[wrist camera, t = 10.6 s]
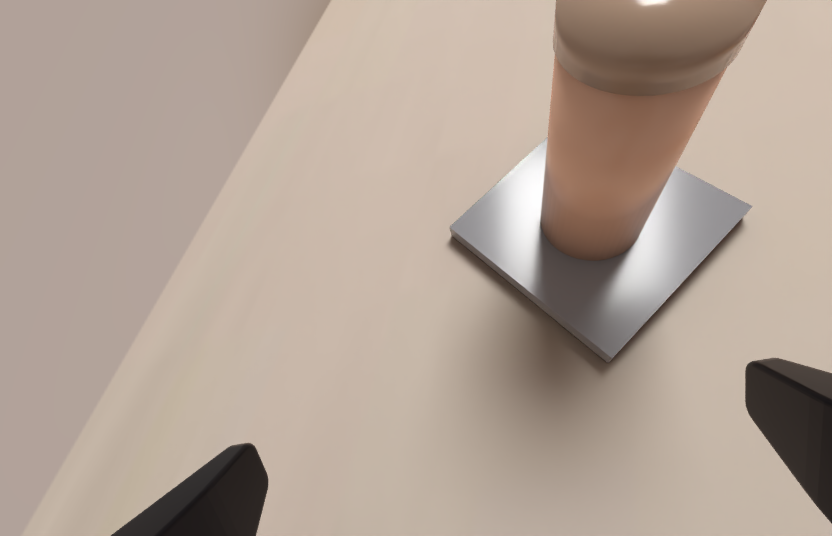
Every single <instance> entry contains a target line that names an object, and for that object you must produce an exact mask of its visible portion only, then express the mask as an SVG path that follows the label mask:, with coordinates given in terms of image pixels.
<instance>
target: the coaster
mask: <svg viewBox="0 0 832 536" xmlns="http://www.w3.org/2000/svg"><path fill="white" fill-rule="evenodd" d="M547 138H548V137H547ZM547 138H546V139H545V140H544V141H543V142H542V143H540V144H539V145H538V146H537V147H536V148H535V149H534V150H533V151H532V152H531V153H530V154H528V155H527V156H526V157H525V158H524V159H523V160H522V161H521V162H520V163H519V164H518V165H516V166H515V167H514V168H513V169H512V170H511V171H510V172H509V173H508V174H507V175H506V176H505V177H503V178H502V179H501V180H500V181H499V182H498V183H497V184H496V185H495V186H494V187H493V188H491V189H490V190H489V191H488V192H487V193H486V194H485V195H484V196H483V197H482V198H481V199H479V200H478V201H477V202H476V203H475V204H474V205H473V206H472V207H471V208H470V209H469V210H467V211H466V212H465V213H464V214H463V215H462V216H461V217H460V218H459V219H458V220H457V221H456V222H454V223H453V224H452V225H451V226H450V231H451V235H452V236H453V237H454V238H455V239H457V240H458V241H459V242H460V243H461V244H463V245H464V246H465V247H466V248H468V249H469V250H470V251H471V252H472V253H474V254H475V255H476V256H477V257H479V258H480V259H481V260H482V261H483V262H485V263H486V264H487V265H488V266H490V267H491V268H492V269H493V270H495V271H496V272H497V273H498V274H499V275H501V276H502V277H503V278H504V279H506V280H507V281H508V282H509V283H510V284H512V285H513V286H514V287H515V288H517V289H518V290H519V291H520V292H521V293H523V294H524V295H525V296H526V297H528V298H529V299H530V300H531V301H532V302H534V303H535V304H536V305H537V306H539V307H540V308H541V309H542V310H543V311H545V312H546V313H547V314H548V315H550V316H551V317H552V318H553V319H554V320H556V321H557V322H558V323H559V324H561V325H562V326H563V327H564V328H565V329H567V330H568V331H569V332H570V333H572V334H573V335H574V336H575V337H576V338H578V339H579V340H580V341H581V342H583V343H584V344H585V345H586V346H587V347H589V348H590V349H591V350H592V351H594V352H595V353H596V354H597V355H599V356H600V357H601V358H602V359H603V360H605V361H606V362H607V363H609V362H610V361H611V359H612V358H613V357H614V356H615V355H616V354H617V353H618V352H619V351H620V350H621V349H622V348H623V346H624V345H625V344H626V343H627V342H628V341H629V340H630V339H631V338H632V337H633V336H634V335H635V333H636V332H637V331H638V330H639V329H640V328H641V327H642V326H643V325H644V324H645V323H646V322H647V320H648V319H649V318H650V317H651V316H652V315H653V314H654V313H655V312H656V311H657V310H658V309H659V307H660V306H661V305H662V304H663V303H664V302H665V301H666V300H667V299H668V298H669V297H670V296H671V294H672V293H673V292H674V291H675V290H676V289H677V288H678V287H679V286H680V285H681V284H682V283H683V281H684V280H685V279H686V278H687V277H688V276H689V275H690V274H691V273H692V272H693V271H694V270H695V268H696V267H697V266H698V265H699V264H700V263H701V262H702V261H703V260H704V259H705V258H706V257H707V255H708V254H709V253H710V252H711V251H712V250H713V249H714V248H715V247H716V246H717V245H718V244H719V242H720V241H721V240H722V239H723V238H724V237H725V236H726V235H727V234H728V233H729V232H730V231H731V229H732V228H733V227H734V226H735V225H736V224H737V223H738V222H739V221H740V220H741V219H742V218H743V216H744V215H745V214H746V213H747V212H748V211H749V210H750V209H751V208H752V206H751V205H749V204H747V203H745V202H743V201H741V200H739V199H737V198H736V197H734V196H732V195H730V194H728V193H726V192H724V191H722V190H720V189H718V188H716V187H714V186H713V185H711V184H709V183H707V182H705V181H703V180H701V179H699V178H697V177H695V176H693V175H692V174H690V173H688V172H686V171H684V170H682V169H680V168H678V167H676V166H675V168H674V170H673V172H672V174H671V176H670V178H669V179H668V181H667V183H666V185H665V187H664V189H663V191H662V193H661V195H660V197H659V199H658V201H657V202H656V204H655V206H654V208H653V210H652V212H651V214H650V216H649V218H648V220H647V222H646V224H645V225H644V227H643V229H642V231H641V233H640V235H639V237H638V239H637V240H636V242H635V243H634V244H633V245H632V246H631V247H630V248H629V249H628V250H626V251H625V252H623V253H622V254H620V255H618V256H615V257H613V258H609V259H605V260H597V261H590V260H582V259H577V258H574V257H571V256H568V255H566V254H564V253H562V252H561V251H559V250H558V249H557V248H555V247H554V246H553V245H552V244H551V243H550V242H549V241H548V239H547V238H546V236H545V234H544V232H543V230H542V226H541V218H540V217H541V206H542V195H543V184H544V172H545V161H546V150H547Z"/></svg>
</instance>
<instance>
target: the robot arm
mask: <svg viewBox="0 0 832 536" xmlns="http://www.w3.org/2000/svg"><path fill="white" fill-rule="evenodd" d="M745 402H746V407H747V410H748V413H749V415H750V417H751V418H752V420H753V421H754V422H755V424H756V425H757V426H758V428H759V429H760V431H761V432H762V433H763V435H764V436H765V437H766V439H767V440H768V441H769V443H770V444H771V445H772V447H773V448H774V449H775V451H776V452H777V454H778V455H779V456H780V458H781V459H782V460H783V462H784V463H785V464H786V466H787V467H788V468H789V470H790V471H791V473H792V474H793V475H794V477H795V478H796V479H797V481H798V482H799V483H800V485H801V486H802V487H803V489H804V490H805V491H806V493H807V494H808V495H809V497H810V498H811V499H812V500H813V502H814V503H815V504H816V506H817V507H818V508H819V509H820V510H821V511H822V513H823V514H824V515H825V516H826V517H827V519H828V520H829V521H830V522H831V523H832V373H829V372H825V371H822V370H818V369H815V368H811V367H808V366H804V365H801V364H797V363H794V362H790V361H787V360H783V359H779V358H770V359H763V360H757V361H752V362H750V363H749V364H748V365H747V367H746V371H745ZM267 490H268V476H267V473H266V470H265V468H264V466H263V463H262V461H261V459H260V457H259V454H258V452H257V450H256V448H255V446H254V445H253V444H251V443H244V444H238V445H232V446H230V447H228V448H227V449H225V450H224V451H223V452H221V453H220V454H219V455H217V456H216V457H215V458H213V459H212V460H211V461H209V462H208V463H207V464H205V465H204V466H203V467H201V468H200V469H199V470H197V471H196V472H195V473H193V474H192V475H191V476H190V477H188V478H187V479H186V480H184V481H183V482H182V483H180V484H179V485H178V486H176V487H175V488H174V489H172V490H171V491H170V492H168V493H167V494H166V495H164V496H163V497H162V498H160V499H159V500H158V501H156V502H155V503H154V504H152V505H151V506H150V507H148V508H147V509H146V510H144V511H143V512H142V513H140V514H139V515H138V516H136V517H135V518H134V519H132V520H131V521H130V522H128V523H127V524H126V525H124V526H123V527H122V528H120V529H119V530H118V531H116V532H115V533H114V534H112V535H111V536H256V533H257V529H258V525H259V521H260V517H261V514H262V510H263V506H264V502H265V498H266V494H267Z"/></svg>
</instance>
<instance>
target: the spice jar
mask: <svg viewBox="0 0 832 536" xmlns="http://www.w3.org/2000/svg"><path fill="white" fill-rule="evenodd" d="M766 1H767V0H556V10H555V22H554V35H553V48H554V52H555V59H554V71H553V82H552V93H551V105H550V116H549V127H548V138H547V150H546V161H545V172H544V184H543V195H542V206H541V217H540V218H541V226H542V230H543V232H544V234H545V236H546V238H547V239H548V241H549V242H550V243H551V244H552V245H553V246H554V247H555V248H557V249H558V250H559V251H561V252H562V253H564V254H566V255H568V256H571V257H574V258H577V259H582V260H590V261H597V260H605V259H609V258H613V257H615V256H618V255H620V254H622V253H623V252H625V251H626V250H628V249H629V248H630V247H631V246H632V245H633V244H634V243H635V242H636V240H637V239H638V237H639V235H640V233H641V231H642V229H643V227H644V225H645V224H646V222H647V220H648V218H649V216H650V214H651V212H652V210H653V208H654V206H655V204H656V202H657V201H658V199H659V197H660V195H661V193H662V191H663V189H664V187H665V185H666V183H667V181H668V179H669V178H670V176H671V174H672V172H673V170H674V168H675V166H676V164H677V162H678V160H679V158H680V156H681V155H682V153H683V151H684V149H685V147H686V145H687V143H688V141H689V139H690V137H691V135H692V133H693V132H694V130H695V128H696V126H697V124H698V122H699V120H700V118H701V116H702V114H703V112H704V110H705V109H706V107H707V105H708V103H709V101H710V99H711V97H712V95H713V93H714V91H715V89H716V87H717V86H718V84H719V82H720V80H721V78H722V76H723V74H724V72H725V70H726V68H727V66H729V65H730V64H731V63H732V61H733V60H734V59H735V58H736V56H737V55H738V53H739V51H740V50H741V48H742V46H743V44H744V42H745V40H746V38H747V36H748V35H749V33H750V31H751V29H752V27H753V25H754V23H755V21H756V20H757V18H758V16H759V14H760V12H761V10H762V8H763V6H764V4H765V3H766Z"/></svg>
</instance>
